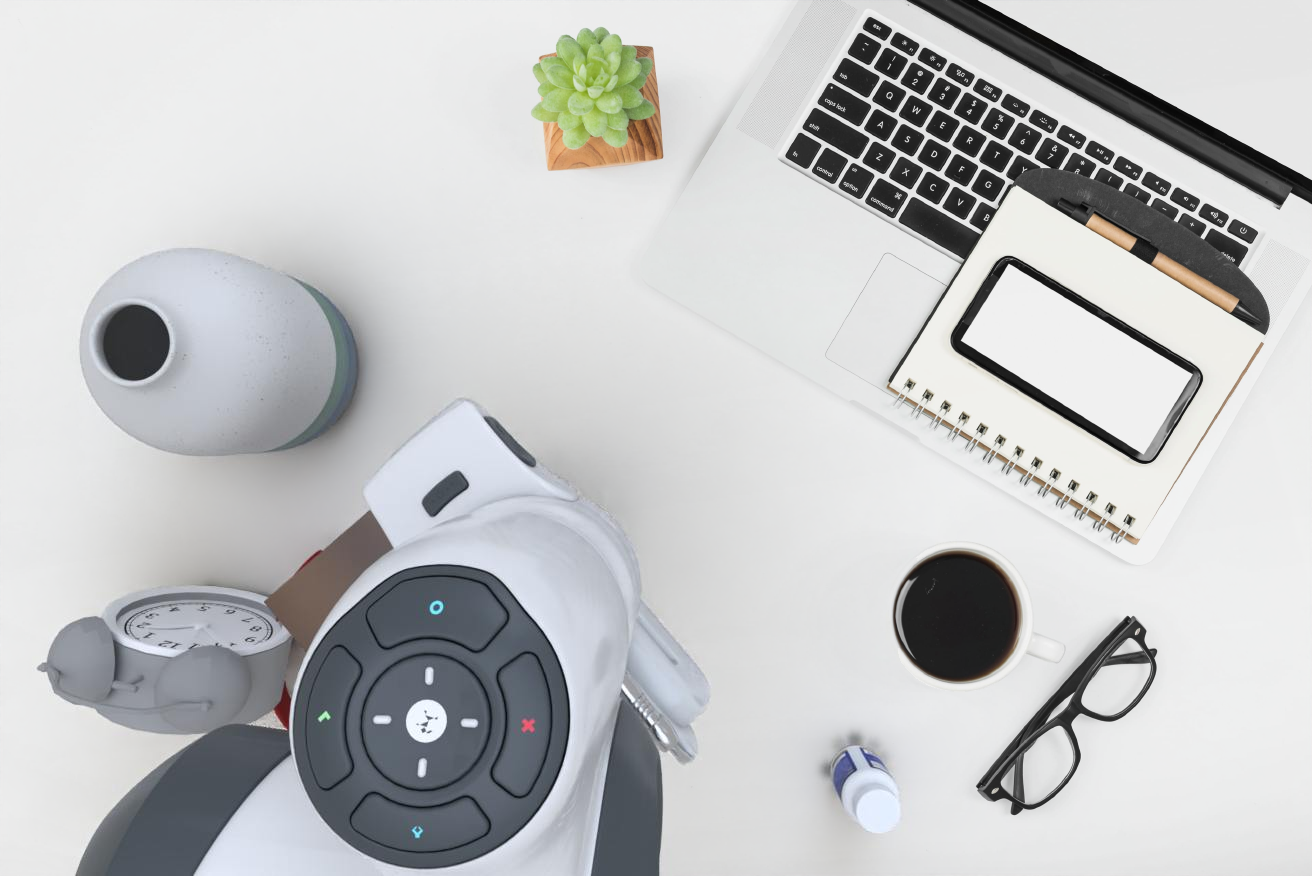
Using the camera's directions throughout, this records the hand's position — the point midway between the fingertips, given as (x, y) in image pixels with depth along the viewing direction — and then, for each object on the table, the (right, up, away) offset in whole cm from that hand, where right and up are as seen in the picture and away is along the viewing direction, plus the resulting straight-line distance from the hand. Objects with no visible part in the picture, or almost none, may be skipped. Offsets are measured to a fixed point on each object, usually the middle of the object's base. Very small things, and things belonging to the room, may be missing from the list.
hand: (578, 548), depth 50 cm
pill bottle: (+24, -26, +32) cm, 48 cm away
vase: (-32, +14, +33) cm, 48 cm away
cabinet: (-9, -4, +33) cm, 34 cm away
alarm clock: (-36, -13, +34) cm, 51 cm away
